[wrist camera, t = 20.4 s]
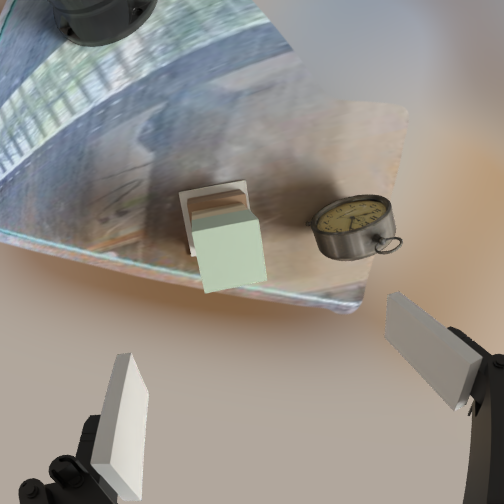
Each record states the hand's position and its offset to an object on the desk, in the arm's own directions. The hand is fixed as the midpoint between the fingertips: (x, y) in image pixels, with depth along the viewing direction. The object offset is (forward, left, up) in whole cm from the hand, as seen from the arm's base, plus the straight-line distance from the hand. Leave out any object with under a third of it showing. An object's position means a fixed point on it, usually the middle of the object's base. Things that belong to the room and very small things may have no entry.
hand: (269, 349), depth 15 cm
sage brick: (0, 0, -20) cm, 20 cm away
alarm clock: (+3, +17, -31) cm, 35 cm away
